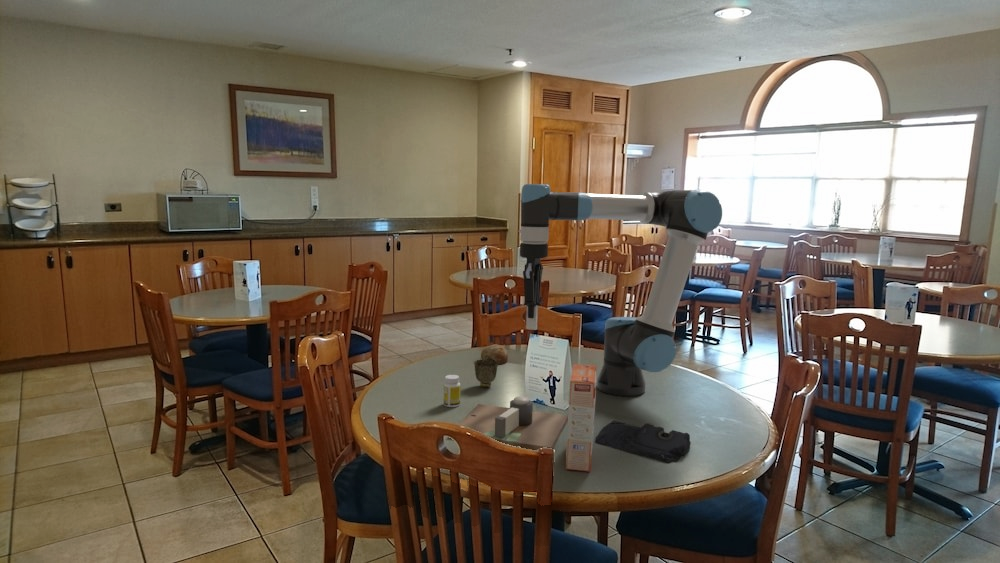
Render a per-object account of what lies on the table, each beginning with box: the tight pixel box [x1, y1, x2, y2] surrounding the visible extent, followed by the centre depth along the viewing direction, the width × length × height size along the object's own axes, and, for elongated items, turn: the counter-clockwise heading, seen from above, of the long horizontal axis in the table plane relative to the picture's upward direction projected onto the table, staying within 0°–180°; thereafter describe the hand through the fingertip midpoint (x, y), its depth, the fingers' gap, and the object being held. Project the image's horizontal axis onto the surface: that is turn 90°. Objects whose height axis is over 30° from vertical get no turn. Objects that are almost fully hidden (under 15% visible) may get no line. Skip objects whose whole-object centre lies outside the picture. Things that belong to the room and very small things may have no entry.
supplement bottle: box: [443, 374, 461, 408], centre depth 173 cm, size 5×5×8 cm
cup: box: [474, 359, 499, 389], centre depth 190 cm, size 8×7×8 cm
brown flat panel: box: [458, 403, 568, 450], centre depth 157 cm, size 26×23×1 cm
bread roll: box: [480, 343, 509, 365], centre depth 220 cm, size 10×10×8 cm
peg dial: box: [495, 396, 534, 438], centre depth 154 cm, size 15×6×6 cm, turn 152°
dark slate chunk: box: [594, 420, 692, 464], centre depth 150 cm, size 15×22×5 cm
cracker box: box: [565, 363, 597, 473], centre depth 139 cm, size 14×6×21 cm, turn 170°
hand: (531, 328), depth 164 cm, fingers closed
